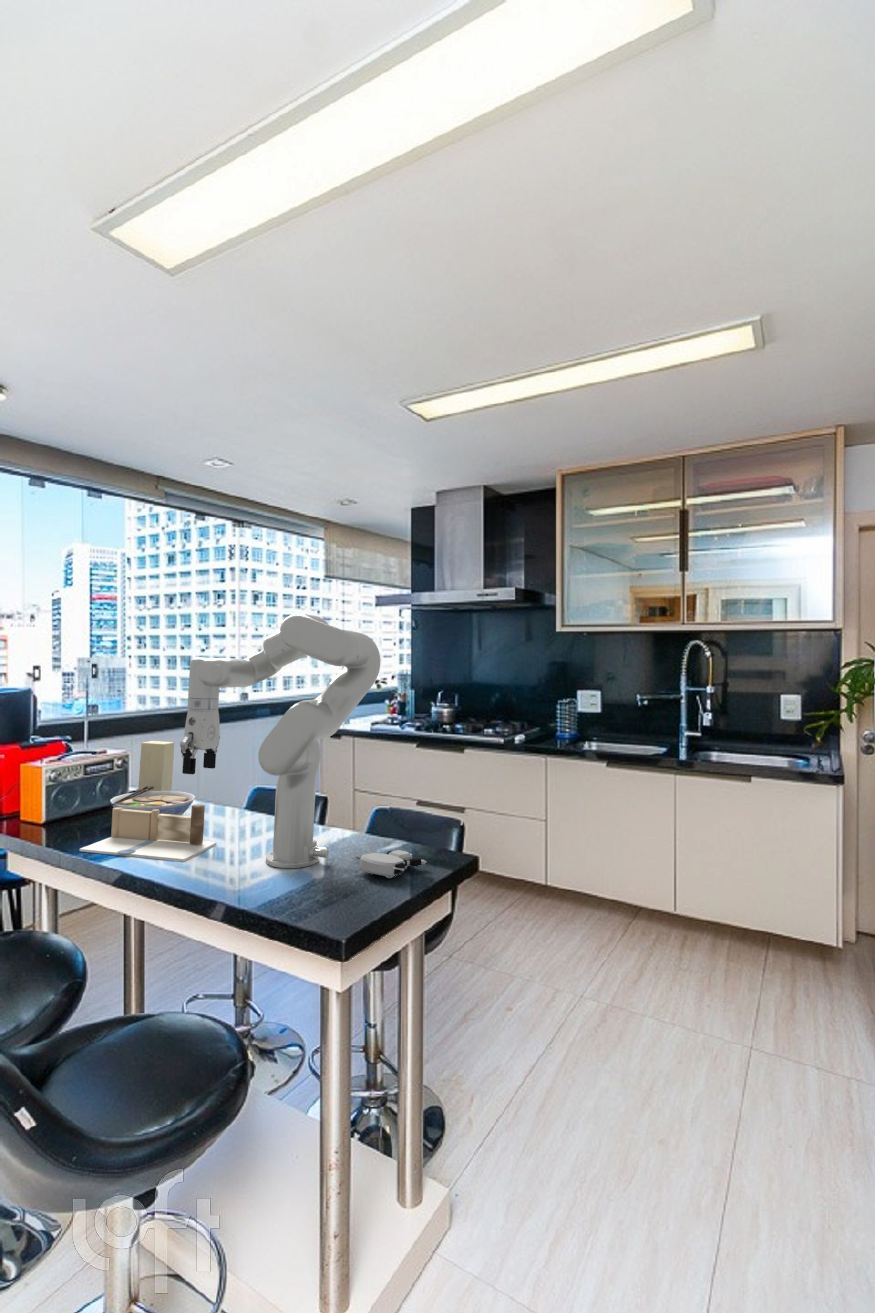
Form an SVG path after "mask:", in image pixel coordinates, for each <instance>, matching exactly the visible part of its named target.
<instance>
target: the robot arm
mask: <svg viewBox="0 0 875 1313" xmlns="http://www.w3.org/2000/svg"><path fill="white" fill-rule="evenodd" d="M262 647H263V649H262V650H261V651H259V652H257V653H255V654H253V655H251V656H249V657H246V658H233V657H232V658H230V657H220V658H212V657H194V658H192V659H191V660H190V662H189V675H188V676H189V678H188V694H187V697H188V698H187V708H186V710H187V713H186V719H185V725H184V735H183V738H182V740H180V741H179V746H180V752H181V758H182V771H181V772H182V774H184V775H195V774H196V765H197V758H195V757H196V755H197V753H198V751H205V752H203V766H202V767H203V769H216V761H217V759H216V758H217V753H218V747H219V745H220V739H221V735H220V733H221V732H220V730H221V727H220V713H219V700H220V688H223V689H224V688H247V687H251V686H253V685H256V684H258V683H260V682H263V681H265V680H267V679H270V678H271V677H272V676H274V675H276V674H277V673H278V672H279V671H280V670H281V669H282V668H283V667H285V666H287V665H290V664H292V663H294V662H296V661H299V660H301V659H302V658H304V657H307V656H308V657H310V658H313V659H315V660H318V661H320V662H323V663H325V664H326V665H327V664H328V665H331V666H335V667H344V668H343V670H341V671H340V673H338V674H337V675H336V676H335V677H334V678H333V679H332V680H331V681H330V682H329V684H327V686H326V687H325V688H324V690H323V691H322V692H321V693H320V694H319V695H318V696H317V697H315V698H313V699H305V700H301V701H298V702H296V703H294V704H293V705H291V706H290V707H289V709H288V710H286V711H285V713H284V714H283V716H282V717H281V718H280V719H279V720H278V722H277V723H276V724H275V725H274V727H273V728H272V729H271V730H270V731H269V733H268V734H267V736H266V737H265V738H264V740H263V742H262V743H261V744H260V747H259V749H258V763H259V765H260V768H261V769H262V771H263V772H265V773H266V774H268V775H270V776H278V777H277V783H276V787H275V797H274V798H275V800H274V801H275V802H274V804H275V805H274V821H273V822H274V823H273V824H274V825H273V842H272V844H273V846H272V852H270V853H267V855H266V857H265V863H267V865H269V866H271V867H275V868H279V869H280V868H281V869H297V868H299V869H300V868H306V867H310V866H313V865H315V864H316V863H317V862H319V860H320V859H319V858H323V859H324V858H325V859H327V858H328V857H329V849H328V848H327V847H325V846H324V847H323V846H321V847H319V846H318V845H317V843H318V842H317V840H314V829H315V828H314V826H315V824H314V823H315V803H316V789H317V779H318V778H317V777H318V771H319V767H320V766H319V765H320V762H321V755H322V754H321V745H320V742H319V740H322V739H327V738H329V737H331V736H333V735H334V734H336V733H337V732H338V731H339V729H340V728H341V726H342V725H343V724H344V723H345V721H346V720H347V719H348V717H350V715H351V714H352V712H354V710H355V709H356V707H357V706H358V705H359V703H360V702H361V701H362V700H363V698H364V697H365V696H366V695H367V694H368V693H369V691H370V689H372V687H373V686H374V684H375V682H376V681H377V679H378V676H379V674H380V670H381V654H380V651H379V648H378V645H377V644H376V642H375V641H374V640H373V639H372V638H371V637H370V636H368V635H366V634H365V633H362V632H357V631H352V630H351V631H350V630H345V629H341V628H337V627H336V626H332V625H330V624H329V622H327V621H326V620H325V619H324V618H322V617H320V616H317V615H312V614H308V613H303V612H300V613H298V612H297V613H293V614H291V615H289V616H287V617H286V618H285V619H284V620H283V621H282V623H281V624H280V627H279V630H278V631H276V632H274V633H272V634H270V635H267V636H266V637H265V638H264V639H263V643H262Z"/></svg>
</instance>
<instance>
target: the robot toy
mask: <svg viewBox="0 0 875 1313" xmlns="http://www.w3.org/2000/svg"><path fill="white" fill-rule="evenodd" d="M352 858H353V859H358V860H359V867H360V868H361V869H362V870H363V871H365V872H367V873H368V872H370V873H373V874H375V875H378V876H382V875H383V876H395V875H396V876H399V875H401V873H402V874H403V873H404V872H405V866H407V865H411V867H413V866H416V867H419V866H418V865H421V866H422V865H426V864H427V860H425V859H421V858H420V857H413V854H412V853H410V852H408V851H405V850H400V849H399V850H398V849H396V850H395V849H394V850H389V851H387V852H386V853H382V852H381V853H380V852H370V853H366V854H362V856H361V857H359V856H358V857H357V856H354V855H353V856H352ZM425 863H426V864H425ZM370 873H369V874H370ZM373 874H372V875H373ZM398 874H399V875H398ZM383 876H382V877H383ZM396 876H395V877H396Z"/></svg>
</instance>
